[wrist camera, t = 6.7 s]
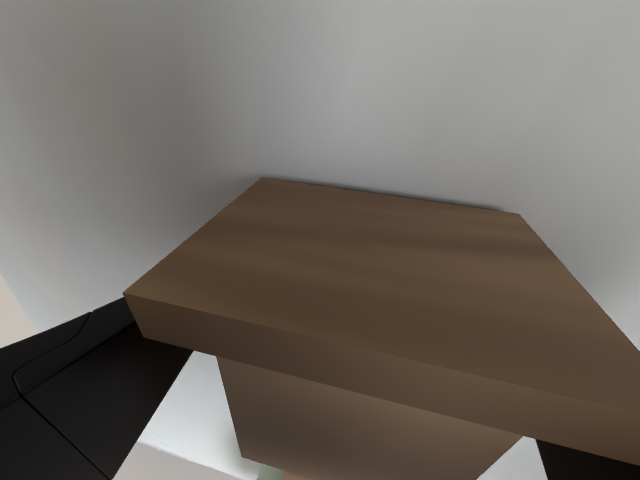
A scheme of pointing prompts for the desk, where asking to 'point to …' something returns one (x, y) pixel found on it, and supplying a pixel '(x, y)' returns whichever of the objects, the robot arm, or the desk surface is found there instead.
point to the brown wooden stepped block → (391, 335)
